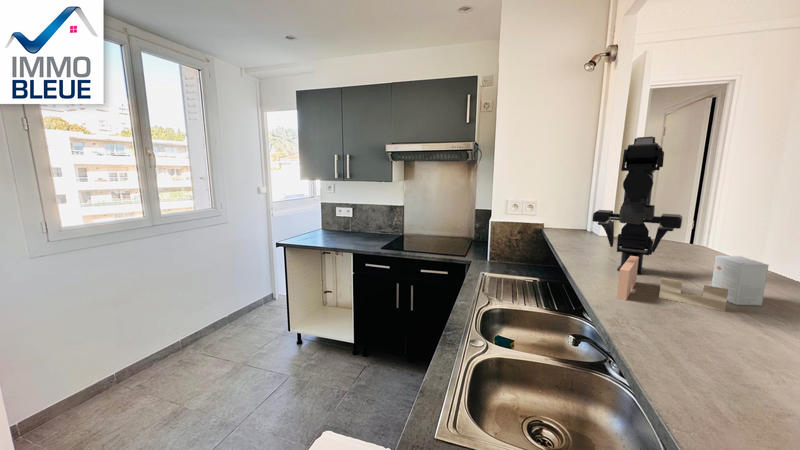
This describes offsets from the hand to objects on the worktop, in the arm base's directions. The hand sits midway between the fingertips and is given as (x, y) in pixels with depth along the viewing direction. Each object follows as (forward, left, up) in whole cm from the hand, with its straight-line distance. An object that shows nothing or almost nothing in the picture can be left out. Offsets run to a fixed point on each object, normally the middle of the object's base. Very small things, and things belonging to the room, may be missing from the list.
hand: (631, 249), depth 84 cm
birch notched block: (0, +13, -12) cm, 18 cm away
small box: (-10, +21, -12) cm, 26 cm away
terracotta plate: (0, 0, -12) cm, 12 cm away
